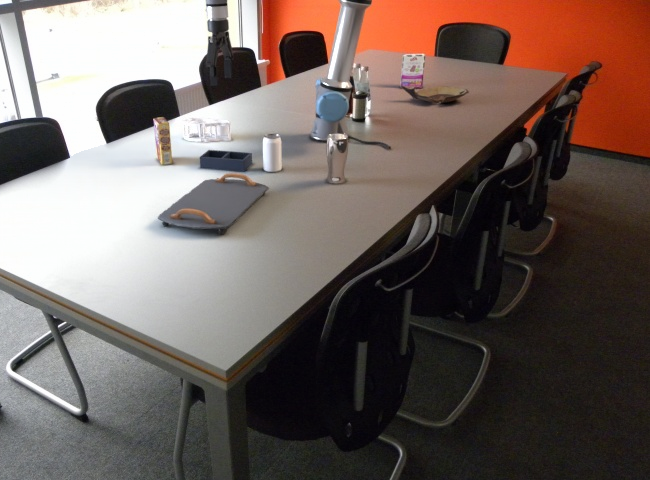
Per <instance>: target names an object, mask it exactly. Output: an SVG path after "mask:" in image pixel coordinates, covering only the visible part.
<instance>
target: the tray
mask: <svg viewBox="0 0 650 480" xmlns="http://www.w3.org/2000/svg"><path fill="white" fill-rule="evenodd" d="M198 160H199V168H200V169H207V170H216V171H217V170H218V171H229V172H230V171H231V172H243V173H244V172H246V171H247V170H248V169H249V168H250V167H251V166H252V165H253V153H252V152H244V151H231V150H218V149H217V150H215V149H208V150H206V152H204V153H203V154H201V155H200V156H199V159H198Z"/></svg>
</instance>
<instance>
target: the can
mask: <svg viewBox="0 0 650 480" xmlns="http://www.w3.org/2000/svg"><path fill="white" fill-rule="evenodd" d="M282 161H283V160H282V139H281V135H280V134H278V133H266V134H263V139H262V164H263V165H262V166H263V167H262V168H263V170H264V172H267V173H278V172H280V171H281V170H282V168H283V167H282V165H283V163H282Z"/></svg>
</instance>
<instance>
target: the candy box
mask: <svg viewBox="0 0 650 480" xmlns="http://www.w3.org/2000/svg"><path fill="white" fill-rule="evenodd" d="M170 128H171V127H170V122H169V120H167V119H166V118H165V117H164V116H161V117H154V118H153V129H154V140H155V149H156V159H157V160H158V161H159V163H160V164H161V165H162V166H166V165H173V153H172V152H173V151H172V141H171V140H172V139H171V129H170Z"/></svg>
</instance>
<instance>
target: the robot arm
mask: <svg viewBox="0 0 650 480" xmlns="http://www.w3.org/2000/svg"><path fill="white" fill-rule="evenodd" d="M338 2H339V4H340V10H339V13H338V19H337V22H336V27H335V32H334V37H333V40H332V41H333V42H332V48H331V50H330V51H331V52H330V56H329V61H328V66H327V70H326V75H325V76H324V77H320V78H317V79H316V81H315V82H316V83H315V118H314V121H313V124H312V126H311V130H310V139H311V140H313V141H316V142H321V143H327V136H328V135H330V134H345V135H347V136H348V139H350V140H352V141H355V142H358V143H361V144H366V145H381V146H383V147H385V148H386V149H388V150H391V148H392V147H391V146H390V145H388V144H387V143H385V142H381V141H375V140H373V141H372V140H371V141H366V140H362V139H359V138H357V137H354V136H351V135H349V134H350V133H349V128H348V125H347V122H346V116H347V114H348V112H349V109H350V103H349V102H350V98H351V94H352V89H353V85H352V83H351V82H350V79H351V76H352V75H351V74H352V71H353V66H354V62H355V58H356V52H357V49H358V45H359V40H360V35H361V31H362V28H363V22H364V17H365V13H366V10H367V9H368V8H370V7H371V6H372V2H373V0H338ZM205 7H206V8H205V12H206V18H207V19H208V20H207V22H206V23H207V25H206V26H207V31H208V32H209V33H211V35H210V36H207V50H206V51H207V52H206V61H205V66H206V67H207V68H208V69H209V82H210V83H209V84H210V86H211V87H212V86H214V87H218V86H219V77H218V76H219V75H218V74H219V73H218V66H217V62H218V57H219V52H221V53H222V55H223V58H224V59H223V69H224V78H225V79H233V71H232V70H233V69H232V68H233V67H232V65H233V64H232V60H234V58H235V57H234V50H233V47H232V43H231V38H230V32H229V30H230V27H229V26H230V25H229V23H230V22H229V20H228V18H229V6H228V0H205Z"/></svg>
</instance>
